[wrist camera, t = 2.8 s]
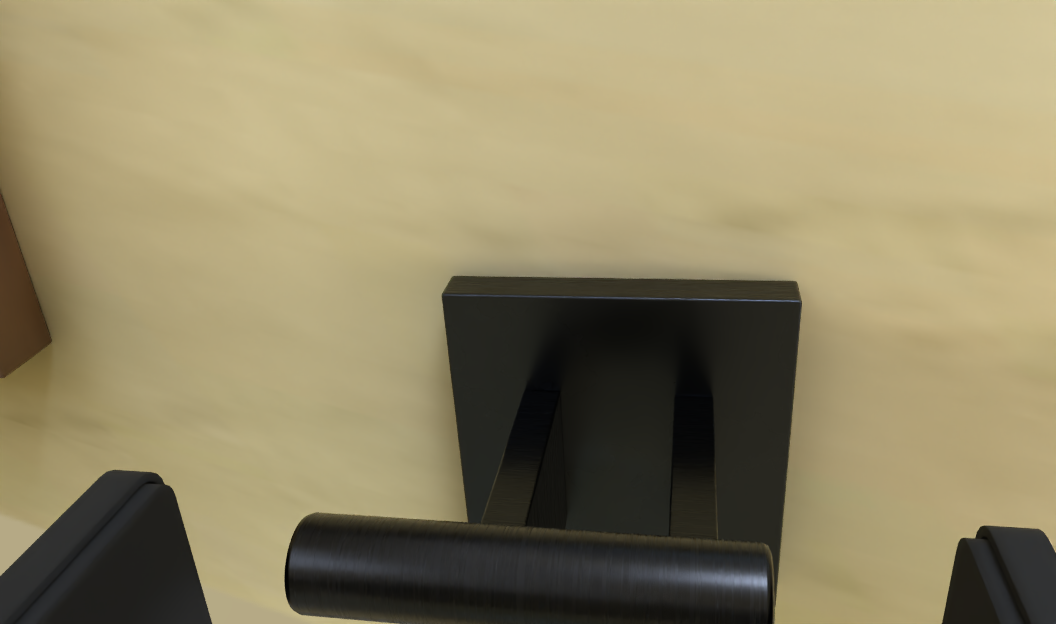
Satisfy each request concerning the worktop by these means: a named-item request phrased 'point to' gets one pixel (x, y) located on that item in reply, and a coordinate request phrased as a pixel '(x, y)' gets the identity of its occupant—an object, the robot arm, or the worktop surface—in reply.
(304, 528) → the lever
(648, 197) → the worktop surface
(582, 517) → the bracket
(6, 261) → the button box
